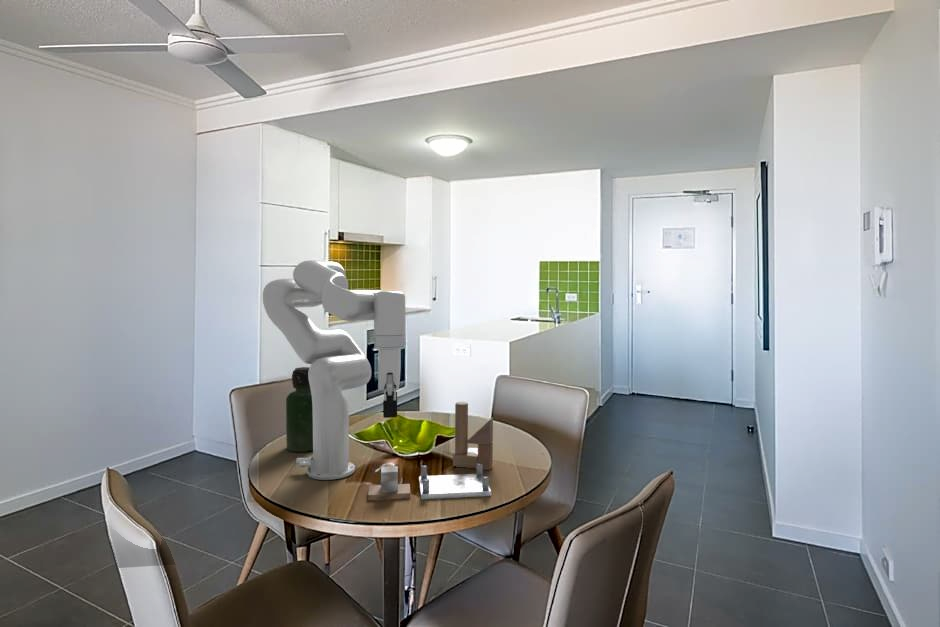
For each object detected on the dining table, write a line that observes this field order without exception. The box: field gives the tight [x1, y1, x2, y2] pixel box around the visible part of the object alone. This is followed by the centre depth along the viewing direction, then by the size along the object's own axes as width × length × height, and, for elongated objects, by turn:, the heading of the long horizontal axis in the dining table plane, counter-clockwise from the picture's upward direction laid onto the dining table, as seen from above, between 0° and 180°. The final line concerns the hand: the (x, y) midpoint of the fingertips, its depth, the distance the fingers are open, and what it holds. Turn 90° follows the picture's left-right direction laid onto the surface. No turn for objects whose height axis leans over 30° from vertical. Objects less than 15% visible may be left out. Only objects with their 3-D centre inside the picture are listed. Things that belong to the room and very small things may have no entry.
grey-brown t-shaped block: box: [367, 465, 411, 501], centre depth 129 cm, size 10×6×6 cm, turn 98°
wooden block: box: [452, 401, 494, 471], centre depth 149 cm, size 4×11×18 cm, turn 75°
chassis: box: [418, 463, 492, 500], centre depth 133 cm, size 17×12×4 cm
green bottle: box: [285, 366, 313, 453], centre depth 165 cm, size 10×10×25 cm
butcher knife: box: [468, 447, 478, 454], centre depth 157 cm, size 5×15×1 cm, turn 177°
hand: (390, 412), depth 128 cm, fingers open, 9 cm apart
